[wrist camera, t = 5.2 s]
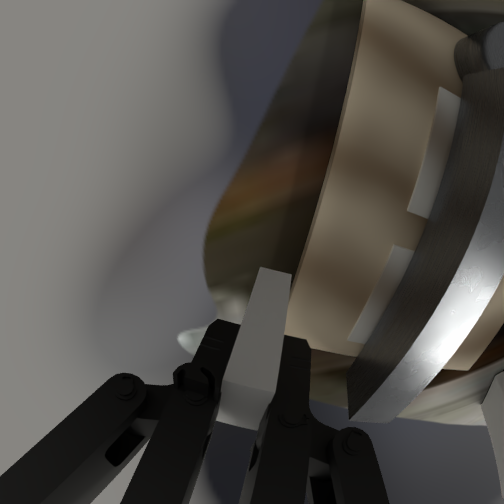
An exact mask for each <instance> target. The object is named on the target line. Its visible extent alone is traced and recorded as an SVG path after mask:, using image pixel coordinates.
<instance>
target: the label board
mask: <svg viewBox="0 0 504 504" xmlns="http://www.w3.org/2000/svg"><path fill="white" fill-rule="evenodd" d="M464 37H467V35H466V34H464V33H462V32H461V31H459V30H458V29H456V28H454V27H453V26H451V25H449V24H448V23H446V22H444V21H442V20H441V19H439V18H437V17H435V16H433V15H431V14H429V13H427V12H425V11H423V10H421V9H419V8H417V7H415V6H413V5H410V4H408V3H406V2H404V1H401V0H363V5H362V12H361V18H360V24H359V30H358V35H357V41H356V46H355V52H354V57H353V62H352V67H351V72H350V76H349V81H348V86H347V90H346V95H345V99H344V104H343V108H342V112H341V116H340V121H339V125H338V129H337V133H336V137H335V141H334V145H333V149H332V152H331V156H330V160H329V164H328V168H327V171H326V175H325V179H324V182H323V186H322V189H321V193H320V196H319V200H318V203H317V207H316V210H315V214H314V217H313V220H312V224H311V227H310V230H309V234H308V237H307V240H306V243H305V247H304V250H303V253H302V256H301V259H300V262H299V265H298V269H297V272H296V275H295V278H294V281H293V284H292V287H291V290H290V293H289V301H288V309H287V317H286V324H285V332H284V335H288V336H293V337H297V338H302V339H306V340H307V342H308V344H309V346H310V348H314V349H319V350H323V351H328V352H333V353H338V354H343V355H349V356H354V357H357V356H358V355H359V353H360V352H361V350H362V349H363V347H364V346H365V344H366V342H367V341H368V339H369V337H370V336H371V334H372V333H373V331H374V329H375V328H376V326H377V324H378V322H379V321H380V319H381V317H382V316H383V314H384V312H385V310H386V308H387V307H388V305H389V303H390V301H391V299H392V297H393V295H394V293H395V292H396V290H397V288H398V286H399V284H400V282H401V280H402V278H403V276H404V274H405V272H406V269H407V267H408V265H409V263H410V261H411V259H412V257H413V254H414V252H415V250H416V248H417V245H418V243H419V241H420V238H421V236H422V233H423V231H424V228H425V226H426V223H427V221H428V218H429V215H430V213H431V210H432V207H433V204H434V202H435V199H436V196H437V193H438V190H439V187H440V184H441V181H442V177H443V174H444V171H445V167H446V164H447V160H448V156H449V153H450V149H451V145H452V141H453V136H454V132H455V127H456V122H457V117H458V112H459V107H460V101H461V94H462V87H463V83H462V81H461V79H460V77H459V75H458V72H457V70H456V66H455V62H454V48H455V45H456V43H457V42H458V41H459V40H460V39H462V38H464ZM503 323H504V275H503V277H502V279H501V281H500V283H499V285H498V287H497V289H496V290H495V292H494V294H493V296H492V298H491V299H490V301H489V303H488V304H487V306H486V308H485V309H484V311H483V313H482V314H481V316H480V317H479V319H478V320H477V322H476V323H475V325H474V326H473V328H472V329H471V331H470V332H469V334H468V335H467V337H466V338H465V339H464V341H463V342H462V343H461V345H460V346H459V348H458V349H457V350H456V351H455V353H454V354H453V355H452V357H451V358H450V359H449V360H448V362H447V363H446V364H445V365H444V367H443V368H442V369H453V370H467V371H468V370H469V369H470V368H471V366H472V365H473V364H474V363H475V361H476V360H477V359H478V358H479V356H480V355H481V354H482V353H483V351H484V350H485V349H486V347H487V346H488V345H489V343H490V342H491V341H492V339H493V338H494V336H495V335H496V334H497V332H498V331H499V329H500V328H501V326H502V325H503Z"/></svg>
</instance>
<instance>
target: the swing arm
mask: <svg viewBox="0 0 504 504" xmlns="http://www.w3.org/2000/svg"><path fill="white" fill-rule="evenodd" d="M454 62H455V66H456V70H457V72H458V75H459V77H460V79H461V81H462V83H463V87H462V94H461V101H460V107H459V112H458V117H457V122H456V127H455V132H454V136H453V141H452V145H451V149H450V153H449V156H448V160H447V164H446V167H445V171H444V174H443V177H442V181H441V184H440V187H439V190H438V193H437V196H436V199H435V202H434V204H433V207H432V210H431V213H430V215H429V218H428V221H427V223H426V226H425V228H424V231H423V233H422V236H421V238H420V241H419V243H418V245H417V248H416V250H415V252H414V254H413V257H412V259H411V261H410V263H409V265H408V267H407V269H406V272H405V274H404V276H403V278H402V280H401V282H400V284H399V286H398V288H397V290H396V292H395V293H394V295H393V297H392V299H391V301H390V303H389V305H388V307H387V308H386V310H385V312H384V314H383V316H382V317H381V319H380V321H379V322H378V324H377V326H376V328H375V329H374V331H373V333H372V334H371V336H370V337H369V339H368V341H367V342H366V344H365V346H364V347H363V349H362V350H361V352H360V353H359V355H358V356H357V358H356V359H355V361H354V362H353V364H352V365H351V367H350V368H349V370H348V371H347V373H346V378H347V394H348V413H349V421H359V422H376V423H389V422H390V421H392V420H393V419H394V418H395V417H396V416H397V415H398V414H399V413H400V412H401V411H402V410H404V409H405V408H406V407H407V406H408V405H409V404H410V403H411V402H412V401H413V400H414V399H415V398H416V397H417V396H418V395H419V393H420V392H421V391H422V390H423V389H424V388H425V387H426V386H427V385H428V384H429V383H430V382H431V380H432V379H433V378H434V377H435V376H436V375H437V374H438V372H439V371H440V370H441V369H442V368H443V367H444V365H445V364H446V363H447V362H448V360H449V359H450V358H451V357H452V355H453V354H454V353H455V351H456V350H457V349H458V348H459V346H460V345H461V343H462V342H463V341H464V339H465V338H466V337H467V335H468V334H469V332H470V331H471V329H472V328H473V326H474V325H475V323H476V322H477V320H478V319H479V317H480V316H481V314H482V313H483V311H484V309H485V308H486V306H487V304H488V303H489V301H490V299H491V298H492V296H493V294H494V292H495V290H496V289H497V287H498V285H499V283H500V281H501V279H502V277H503V275H504V22H501V23H499V24H496V25H493V26H491V27H488V28H486V29H483V30H481V31H478V32H476V33H474V34H471V35H469V36H467V37H464V38H462V39H460V40H459V41H458V42H457V43H456V45H455V48H454Z"/></svg>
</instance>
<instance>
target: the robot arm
mask: <svg viewBox="0 0 504 504" xmlns="http://www.w3.org/2000/svg"><path fill="white" fill-rule="evenodd" d="M291 276H292V274H288V273H284V272H279V271H275V270H271V269H267V268H263V267H260V269H259V272H258V275H257V278H256V281H255V284H254V287H253V291H252V294H251V297H250V300H249V303H248V306H247V309H246V312H245V315H244V318H243V321H242V324H241V325H239V324H235V323H231V322H228V321H224V320H220V319H217V320H216V321H214V322H213V323H212V324H210V325H209V326H208V328H207V331H206V333H205V335H204V337H203V339H202V341H201V343H200V345H199V347H198V350H197V352H196V354H195V356H194V358H193V360H192V362H191V363H185V364H183V365H181V366H179V367H178V368H177V369H176V370H175V371H174V372H173V381H174V384H171V385H165V386H164V385H163V386H160V385H149V384H144V382H143V381H142V380H141V379H140V378H139V377H138V376H135V375H133V374H129V373H120V374H116V375H114V376H113V377H111V378H110V379H108V380H107V381H106V382H105V383H104V384H103V385H102V386H101V387H100V388H98V389H97V390H96V391H95V392H94V393H93V394H92V395H91V396H89V397H88V398H87V399H86V400H85V401H84V402H83V403H82V404H81V405H79V406H78V407H77V408H76V409H75V410H74V411H73V412H72V413H70V414H69V415H68V416H67V417H66V418H65V419H64V420H63V421H62V422H60V423H59V424H58V425H57V426H56V427H55V428H54V429H53V430H52V431H50V432H49V433H48V434H47V435H46V436H45V437H44V438H43V439H41V440H40V441H39V442H38V443H37V444H36V445H35V446H34V447H33V448H31V449H30V450H29V451H28V452H27V453H26V454H25V455H24V456H23V457H22V458H20V459H19V460H18V461H17V462H16V463H15V464H14V465H13V466H11V467H10V468H9V469H8V470H7V471H6V472H5V473H4V474H2V475H1V476H0V504H90V503H91V502H92V501H93V500H94V499H95V498H96V497H97V496H98V495H99V494H100V493H101V492H102V490H104V489H105V487H107V485H108V484H109V483H110V482H111V481H112V480H113V479H114V478H115V477H116V476H117V475H118V474H119V473H120V472H121V470H122V469H123V468H124V467H125V466H126V465H127V464H128V463H129V462H130V461H131V459H132V458H133V457H134V456H135V455H136V454H137V453H138V452H139V450H140V449H141V448H142V447H143V446H144V445H145V444H146V443H147V441H148V440H149V439H150V440H149V443H148V445H147V447H146V449H145V451H144V453H143V455H142V458H141V460H140V462H139V464H138V466H137V468H136V471H135V473H134V475H133V477H132V479H131V482H130V483H129V486H128V488H127V490H126V492H125V495H124V497H123V499H122V501H121V503H120V504H189V501H190V498H191V495H192V493H193V490H194V487H195V484H196V481H197V478H198V475H199V472H200V469H201V466H202V463H203V460H204V457H205V454H206V451H207V448H208V445H209V442H210V439H211V436H212V432H213V427H214V424H215V421H220V422H224V423H227V424H231V425H236V426H239V427H243V428H248V429H252V430H258V433H257V438H256V440H255V442H254V444H253V445H252V448H251V449H250V451H251V457H250V461H249V465H248V469H247V473H246V477H245V481H244V485H243V489H242V493H241V497H240V501H239V504H304V500H305V493H306V492H307V498H308V504H389V500H388V497H387V493H386V489H385V486H384V482H383V478H382V475H381V471H380V468H379V464H378V461H377V458H376V454H375V451H374V448H373V444H372V441H371V439H370V438H369V436H368V434H366V433H365V432H364V431H363V430H361V429H358V428H356V427H347V428H345V429H342V430H340V431H338V430H336V429H334V428H331V427H329V426H326V425H324V424H322V423H321V422H319V421H318V420H317V419H316V418H314V416H313V415H312V413H311V411H310V408H309V391H310V369H311V363H310V362H311V348H310V346H309V344H308V342H307V340H306V339H302V338H297V337H293V336H288V335H284V332H285V324H286V317H287V309H288V301H289V293H290V285H291Z"/></svg>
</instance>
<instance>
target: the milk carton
mask: <svg viewBox="0 0 504 504" xmlns="http://www.w3.org/2000/svg"><path fill="white" fill-rule="evenodd" d="M481 409H482V411H483V415H484V418H485V421H486V424H487V427H488V431H489V434H490V438H491V441H492V445H493V449H494V453H495V458H496V463H497V468H498V473H499V478H500V485H501V492H502V499H503V500H504V371H503V372H501V373H499V374H497V375H496V376H495V378H494V380H493V382H492V384H491V387H490V389H489V391H488V393H487V395H486V397H485V399H484V401H483V403H482V405H481Z"/></svg>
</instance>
